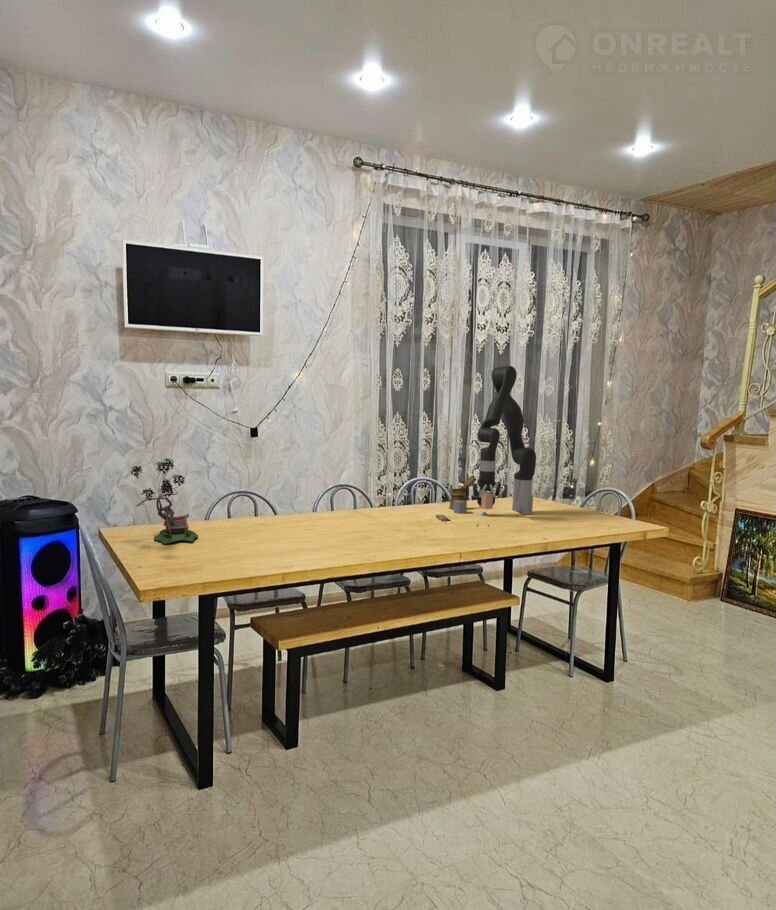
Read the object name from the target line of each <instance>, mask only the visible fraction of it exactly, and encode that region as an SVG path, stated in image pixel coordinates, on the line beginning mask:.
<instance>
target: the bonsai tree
mask: <svg viewBox="0 0 776 910" xmlns="http://www.w3.org/2000/svg"><path fill="white" fill-rule="evenodd" d="M163 461H164V462H163ZM163 461H161V462H157V463H155V464H156V465H157V468H156V471H157V472H162V474H163V476H162V478H163V479H162V481H161V485H160V486H159V487H158V491H157V492H158V496H157V497H153V495H157V494H156V492H155V491H153V489H152V487H149V488H145V489H143V490H142V492H141V493H140V495H145V498H144V500H142V501H141V502H139V503H138V504H136V505H135V507H138V506H141V505H142V506H144V503H145V502H147V501H150V502H151V501H152V500H153V501H154V500H156V503H155V505H156V510H157V514H158V516H159V517H160V518H161V519H162V520H164V522H163V524H162V525H163V527H165V528H164V529H161V530H160V531H159V533H158V534H157V535H154V536H153V539H154V541H157V542H160V543H161V544H163V545H164V546H165V545H169V544H171V543H176V542H177V543H178V542H180V541H181V542H182V541H184V542H188V543H193V542H194V541H195V539H196V538H198V537H199V535H198V534H197V533H196V532H195V531H193V530H191V529H189V524H188V521H187V518H188V517H189V516H190V514H189V513H186V514H184V515H180V516H174V515H175V511H174V510H173V509H171V508H172V507H173V503H172V502H173V501H174V498H173V496H174V495H175V496H176V495H178V491H177V490H176V488H178V487H180V486H181V485H184V484H185V476H183V475H180V474H177V475H176V474H173V475H172V477H173V480H172V482H171V481H170V480H169V479H167V473H168V472H169V471H170V469H171V470H173V469H174V467H175V465H174V459H172V458H171V459H170V458H169V457H168V458H163ZM131 469H132V470H130V475H133V477H135V478H136V479H139V477H138V476H139V475H140V474H145V472H142V471H143V468H142V466H141V465H140V466H137V465H136V466H135V465H133V467H131ZM145 475H148V474H145ZM150 477H152V478H153V479H155V480H157V481H158V483H160V481H159V480H158V479H157V478H155V477H153V476H151V475H150ZM165 477H166V478H165ZM171 483H173V484H174V485H175V486H177V487H174V486H173V485H172V484H171ZM160 487H161V488H160ZM175 491H176V493H174V492H175ZM170 497H171V499H172V500H170V499H169V498H170ZM161 500H165V501H166V503H168V505H165V506H164V507H163V506H162V502H161Z"/></svg>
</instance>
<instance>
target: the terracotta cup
mask: <svg viewBox="0 0 776 910" xmlns="http://www.w3.org/2000/svg"><path fill="white" fill-rule="evenodd" d="M478 506H479V508H480V509H482V510H492V509H493V506H494V505H493V494H492V493H490V491H484V492H483V494H482V496H481V505H479V504H478Z"/></svg>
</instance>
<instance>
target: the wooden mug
mask: <svg viewBox="0 0 776 910" xmlns="http://www.w3.org/2000/svg"><path fill="white" fill-rule="evenodd" d="M474 482H475V476H474V475H470V476H468V477H467V478H466V479H465V482H464V487H462V488H452V490H451V492H450V495H451V496H450V501H449V502H450V503H449V507H448V509H449V510H453V511H454V501H455V500H464V501H468V499H469V496H470V489H469V487H470V488H471V486H472V484H473V483H474Z"/></svg>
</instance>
